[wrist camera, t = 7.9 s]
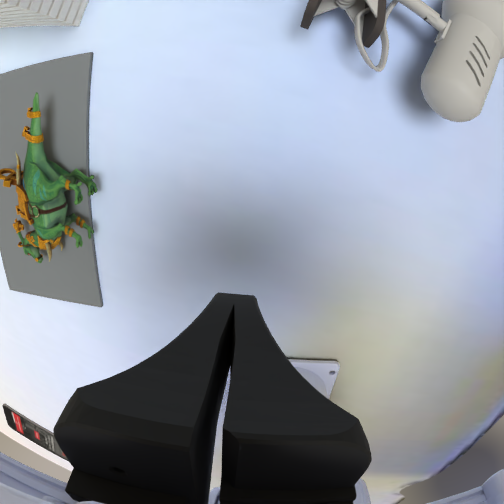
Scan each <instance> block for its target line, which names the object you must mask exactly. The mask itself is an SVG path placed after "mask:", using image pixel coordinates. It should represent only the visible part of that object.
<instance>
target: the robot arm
mask: <svg viewBox="0 0 504 504" xmlns="http://www.w3.org/2000/svg"><path fill="white" fill-rule="evenodd" d="M230 364H231V380H230V387H229V393H228V400H227V406H226V412H225V418H224V424H223V439H222V477H221V486H220V487H215V488H213V489H212V490H211V491H210V481H211V472H212V463H213V454H214V445H215V436H216V428H217V421H218V416H219V411H220V407H221V403H222V398H223V394H224V390H225V386H226V381H227V377H228V373H229V368H230ZM339 368H340V365H339V363H338V362H337V361H322V360H295V359H287V357H286V356H285V355H284V353H283V352H282V350H281V349H280V348H279V346H278V344H277V343H276V341H275V340H274V338H273V336H272V335H271V333H270V331H269V329H268V327H267V325H266V323H265V321H264V319H263V317H262V314H261V312H260V309H259V307H258V303H257V299H256V298H255V296H252V295H240V294H229V293H217V294H216V295H215V296H214V297H213V299H212V300H211V302H210V303H209V304H208V305H207V307H206V308H205V309H204V310H203V311H202V313H201V314H200V315H199V316H198V317H197V318H196V319H195V320H194V321H193V322H192V323H191V324H190V325H189V326H188V327H187V328H186V329H185V330H184V331H183V332H182V333H181V334H180V335H179V336H178V337H176V338H175V339H174V340H173V341H172V342H170V343H169V344H168V345H167V346H165V347H164V348H163V349H161V350H160V351H158V352H157V353H156V354H154V355H152V356H151V357H149V358H148V359H146V360H144V361H143V362H141V363H139V364H138V365H136V366H134V367H132V368H130V369H128V370H126V371H124V372H121V373H119V374H117V375H114V376H112V377H110V378H107V379H104V380H102V381H99V382H96V383H93V384H90V385H87V386H83V387H80V388H77V390H76V391H75V393H74V394H73V395H72V397H71V398H70V399H69V401H68V403H67V404H66V406H65V408H64V410H63V412H62V414H61V415H60V417H59V419H58V421H57V423H56V425H55V427H54V437H55V439H56V441H57V443H58V445H59V447H60V448H61V450H62V452H63V453H64V454H65V456H66V457H67V459H68V460H69V462H70V463H71V465H72V466H73V467H74V469H73V471H72V474H71V476H70V479H69V481H68V483H65V482H63V481H60V480H58V479H55V478H53V477H50V476H48V475H46V474H43V473H41V472H39V471H37V470H35V469H32V468H30V467H28V466H26V465H24V464H22V463H20V462H18V461H16V460H14V459H12V458H10V457H8V456H7V455H5V454H3V453H1V452H0V504H371V501H370V497H369V493H368V489H367V486H366V484H365V482H364V480H362V479H361V478H360V477H361V476H362V475H363V474H364V472H365V471H366V470H367V468H368V467H369V465H370V463H371V452H370V447H369V444H368V440H367V438H366V436H365V433H364V431H363V428H362V426H361V424H360V422H359V419H358V418H356V417H354V416H353V415H351V414H350V413H348V412H347V411H345V410H343V409H342V408H340V407H339V406H337V405H336V404H334V403H333V402H331V401H330V400H329V397H330V394H331V391H332V389H333V386H334V383H335V380H336V377H337V374H338V371H339ZM330 371H332V372H330ZM209 491H210V493H209ZM427 504H504V469H502V470H500V471H498V472H497V473H495V474H494V475H492V476H491V477H490V478H489V479H488V480H486V482H485V483H484V484H483V485H482V486H480V487H477V488H474V489H472V490H469V491H466V492H463V493H460V494H457V495H454V496H451V497H448V498H444V499H441V500H438V501H435V502H431V503H427Z"/></svg>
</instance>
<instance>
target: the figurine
mask: <svg viewBox="0 0 504 504" xmlns="http://www.w3.org/2000/svg"><path fill="white" fill-rule="evenodd" d="M31 110H32V111H31ZM27 117H29V118H32V119H31V126H30V127H28V126H25V127H24V130H23V132H22V136H23V137H26V138H25V139H26V140H28V146H27V153H26V157H25V162H24V170H23V171H21V163H20V159H19V156H18V155H17V153H16V152H15V153H16V158H17V170H16V172H15V170H13V169H10V168H3V169H1V170H0V179H2V180H4V181H3V186H4V187H9V188H10V187H11V185H15V186H16V192H17V194H18V203H19V205H17V206H15V207H16V211H17V215H19V214H20V215H21V217H22V218H24V219H25V220H27V221H28V222H29V224H30V225H33V227H34V229H35V230H33V231H30V232H27V234H26V236H25V239H24V238H23V237H22V234H21V230H24V225H23V224H22V223H21V221H20V220H18V221H17V218H16V219H15V223H13V227H14V229H15V230H16V233H17V234H18V236H19V238H20V240H21V242H19V243H18V247H23V250H24V253H25V254H26V255H28V256H32V257H33V258H34V259H35V261H36V262H38V263H42V261H43V255H42V254H40V253H39V248H40V249H44V250H47V253H48V256H49V262H50V260H51V257H52V249H54V248H55V247H56V246H57V245H59V246H60V247H61V251H62V249H63V243H62V241H61V234H62V231H64V232H65V234H66V235H69V237H74V238H75V239H76V247H77V248H78V247H79V246H80V247H82V245H83V242H82V238H81V236H80V235H79V234H77V233H76V232H75V230H74V229H73V228H71V227H69V225H70V224H71V223H72V222H75V223H76V225H78V226H80V228H85V229H87V231H88V238H89V239H90V238H91V233H92V234H93V233H94V231H93V230H92V228H91V227H90V226H88V225H87V224H86V222H85V221H84V220H83V219H81V218H80V217H79V216H75V214H74V213H72V214H71V215H69V216H66V213H67V207H68V205H67V201H66V198H65V195H64V192H66V191H68V190H74V191H75V201H74V204H75V205H77V204H80V203H81V201H82V200H83V196H82V194H81V189H80V188H79V186H81V185H82V183H84V184H85V185H86V186H87V187H88V196H90V195H93V194H94V192H95V193H96V192H97V188H96V184H95V183H94V182H93V181H92V179H94V176H93V175H92V176H90V177H87V176H86V175H84V174H83V173H82V172H81V171H79V170H78V169H77V168H76V169H75V170H73V171H72V172H71V174H70V173H68V172H67V171H65V170H64V169H63V168H61V167H60V166H59V165H57V164H56V163H54V162H52V161H50V160H48V159H47V157H46V154H45V152H44V147H43V141H44V137H43V133H42V131H41V119H40V117H41V112H40V108H39V95H38V93H37V92H36V93H35V96H34V99H33V107H31V108H28V112H27ZM27 130H30V132H29V131H27ZM5 173H11V174H9V175H8V176H4V175H2V174H5ZM77 180H80V181H81V182H82V183H81V182H79V183H77V184H75V183H76V181H77ZM21 244H22V245H21Z"/></svg>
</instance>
